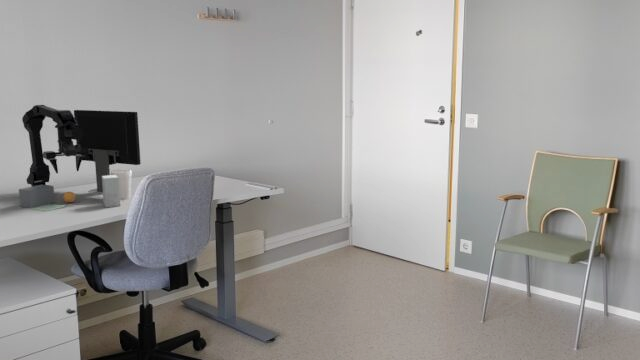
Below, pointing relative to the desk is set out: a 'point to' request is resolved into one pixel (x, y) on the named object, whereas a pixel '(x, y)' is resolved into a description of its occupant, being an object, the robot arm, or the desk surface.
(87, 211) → the desk surface
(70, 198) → the ball
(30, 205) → the large grey box
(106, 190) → the small box
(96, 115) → the computer monitor
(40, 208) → the tape square
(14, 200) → the desk surface
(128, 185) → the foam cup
